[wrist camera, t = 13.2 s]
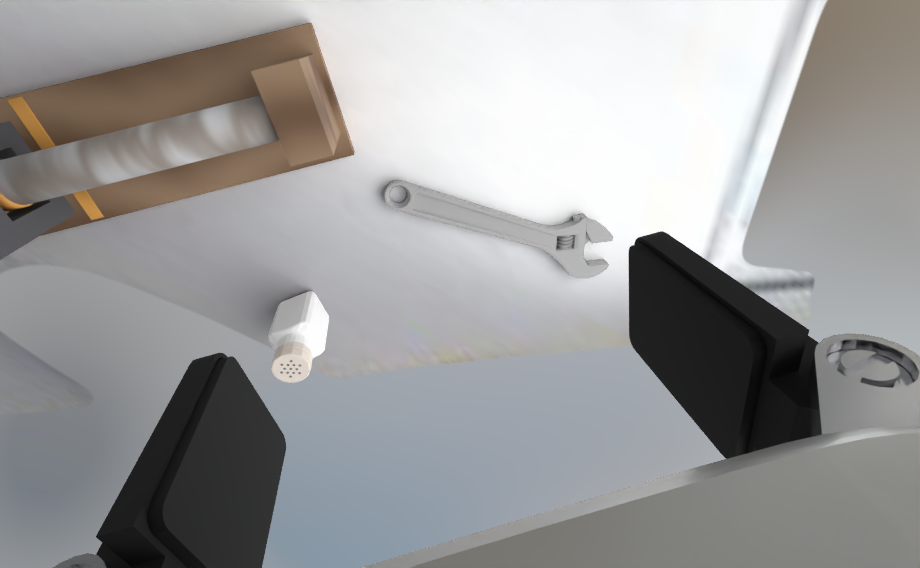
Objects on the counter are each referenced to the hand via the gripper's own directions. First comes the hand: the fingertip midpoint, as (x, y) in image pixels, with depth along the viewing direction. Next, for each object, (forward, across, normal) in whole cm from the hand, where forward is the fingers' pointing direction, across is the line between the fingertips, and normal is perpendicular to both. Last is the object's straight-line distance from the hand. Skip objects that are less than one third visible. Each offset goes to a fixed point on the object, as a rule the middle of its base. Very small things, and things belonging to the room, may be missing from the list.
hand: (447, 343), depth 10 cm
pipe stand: (+32, +20, -3) cm, 38 cm away
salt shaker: (+32, +14, +16) cm, 39 cm away
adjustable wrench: (+33, -9, +12) cm, 36 cm away
